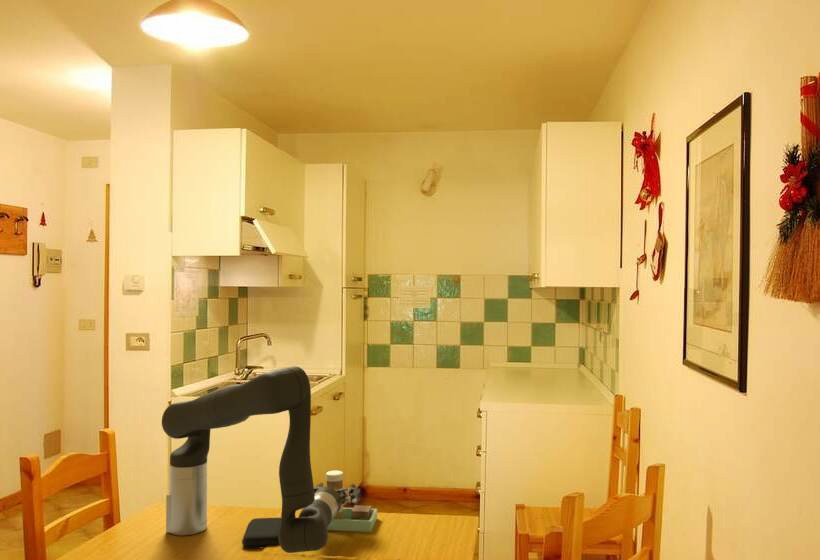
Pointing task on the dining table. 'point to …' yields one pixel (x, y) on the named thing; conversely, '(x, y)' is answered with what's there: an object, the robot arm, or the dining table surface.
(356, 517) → the copper block
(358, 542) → the dining table surface
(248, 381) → the robot arm
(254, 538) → the carrying case or bag
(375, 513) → the tray
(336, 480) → the sprinkles bottle
